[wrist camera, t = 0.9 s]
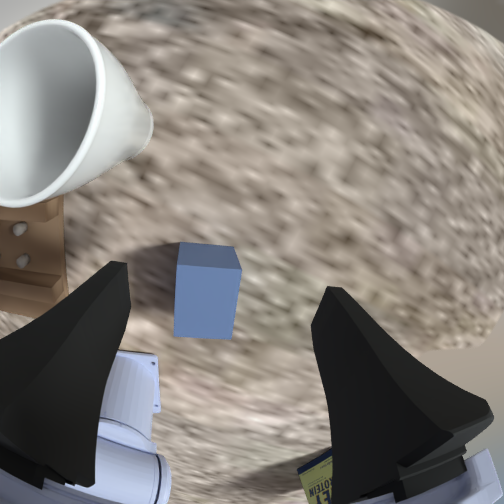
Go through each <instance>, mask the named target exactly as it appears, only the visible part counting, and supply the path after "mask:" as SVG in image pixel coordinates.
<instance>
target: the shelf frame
mask: <svg viewBox="0 0 504 504" xmlns="http://www.w3.org/2000/svg"><path fill="white" fill-rule="evenodd" d="M63 195H64V194H62V195H60V196H57V197H54V198H51V199H48V200H45V201H42V202H38V203H36V204H33V205H30V206H26V207H20V208H9V207H4V206H0V310H1V311H5V312H9V313H14V314H18V315H23V316H27V317H32V318H38V317H40V316H41V315H43V314H44V313H45V312H47V311H48V310H50V309H51V308H52V307H54V306H55V305H56V304H58V303H59V302H60V301H62V300H63V299H64V298H65V297H67V296H68V295H69V292H68V283H67V274H66V262H65V248H64V223H63Z"/></svg>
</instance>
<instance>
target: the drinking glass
mask: <svg viewBox="0 0 504 504" xmlns="http://www.w3.org/2000/svg"><path fill="white" fill-rule="evenodd" d="M153 127H154V122H153V116H152V113H151V111H150V109H149V107H148V106H147V105H146V103H145V102H144V101H143V100H142V98H141V96H140V95H139V93H138V91H137V89H136V87H135V85H134V83H133V82H132V80H131V78H130V76H129V75H128V73H127V71H126V70H125V68H124V67H123V66H122V64H121V63H120V62H119V61H118V59H117V58H116V57H115V56H114V55H113V54H112V53H111V52H110V51H109V50H108V49H107V48H106V47H105V46H104V45H103V44H102V43H101V42H100V41H98V40H97V39H96V38H95V37H93V36H92V35H91V34H89V33H88V32H87V31H86V30H85V29H83V28H82V27H81V26H79V25H77V24H75V23H73V22H69V21H66V20H60V19H50V20H43V21H38V22H35V23H32V24H29V25H27V26H25V27H23V28H21V29H19V30H17V31H16V32H14V33H13V34H11V35H10V36H9V37H7V38H6V39H5V40H3V41H2V42H1V43H0V206H4V207H9V208H20V207H26V206H30V205H33V204H36V203H38V202H42V201H45V200H48V199H51V198H54V197H57V196H60V195H62V194H65V193H67V192H70V191H72V190H75V189H77V188H79V187H81V186H83V185H85V184H87V183H89V182H91V181H93V180H94V179H96V178H98V177H99V176H101V175H102V174H104V173H106V172H107V171H109V170H110V169H112V168H113V167H115V166H117V165H118V164H120V163H122V162H124V161H127V160H130V159H132V158H134V157H135V156H137V155H138V154H140V153H141V152H142V151H143V150H144V149H145V147H146V146H147V145H148V143H149V141H150V139H151V136H152V133H153Z"/></svg>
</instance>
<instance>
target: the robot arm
mask: <svg viewBox="0 0 504 504" xmlns="http://www.w3.org/2000/svg"><path fill="white" fill-rule="evenodd" d="M130 309H131V301H130V292H129V282H128V271H127V263H124V262H117V261H110V262H109V263H108V264H106V265H105V266H104V267H102V268H101V269H100V270H99V271H98V272H96V273H95V274H94V275H93V276H92V277H90V278H89V279H88V280H87V281H85V282H84V283H83V284H82V285H81V286H79V287H78V288H77V289H76V290H75V291H73V292H72V293H71V294H69V295H68V296H67V297H65V298H64V299H63V300H62V301H60V302H59V303H58V304H56V305H55V306H54V307H52V308H51V309H50V310H48V311H47V312H45V313H44V314H43V315H41V316H40V317H38V318H36V319H35V320H33V321H32V322H30V323H29V324H27V325H25V326H24V327H22V328H20V329H18V330H16V331H15V332H13V333H11V334H9V335H8V336H6V337H4V338H2V339H0V504H167V502H168V499H169V495H170V490H171V470H170V466H169V464H168V463H167V461H166V459H165V457H164V456H163V455H160V454H156V445H157V444H156V443H154V442H151V430H152V416H153V413H160V412H161V405H160V390H159V373H158V357H157V356H156V355H154V354H145V353H135V352H127V351H119V350H118V348H119V346H120V343H121V340H122V338H123V335H124V332H125V329H126V325H127V321H128V317H129V313H130ZM311 332H312V341H313V348H314V352H315V356H316V360H317V364H318V368H319V372H320V376H321V380H322V384H323V387H324V391H325V395H326V400H327V405H328V411H329V420H330V429H331V442H332V491H331V503H332V504H493V503H494V502H495V501H497V500H498V499H499V498H500V497H501V496H502V495H503V492H502V489H501V485H500V482H499V479H498V476H497V473H496V470H495V467H494V464H493V461H492V459H491V456H490V453H489V451H488V449H487V448H485V449H484V450H482V451H480V452H478V453H476V454H475V455H473V456H471V457H470V458H467V459H466V460H464V459H463V456H462V455H464V454H465V453H466V451H467V450H466V448H465V444H466V443H468V442H469V441H470V440H472V439H473V438H475V437H476V436H477V435H478V434H480V433H481V432H482V431H483V430H485V429H486V428H487V427H488V426H489V425H490V424H491V423H492V422H493V420H494V415H493V413H492V411H491V409H490V407H489V405H488V403H487V401H486V400H485V399H483V398H481V397H478V396H476V395H474V394H472V393H470V392H467V391H465V390H463V389H461V388H459V387H458V386H456V385H454V384H452V383H451V382H449V381H447V380H446V379H444V378H442V377H441V376H439V375H438V374H436V373H435V372H433V371H432V370H430V369H429V368H428V367H426V366H425V365H423V364H422V363H421V362H419V361H418V360H417V359H416V358H414V357H413V356H412V355H411V354H410V353H408V352H407V351H406V350H405V349H404V348H402V347H401V346H400V345H399V344H398V343H397V342H396V341H395V340H394V339H393V338H392V337H391V336H390V335H388V334H387V333H386V332H385V331H384V330H383V329H382V328H381V327H380V326H379V325H378V324H377V323H376V322H375V321H374V320H373V318H372V317H371V316H370V315H369V314H368V313H367V312H366V311H365V310H364V309H363V308H362V307H361V306H360V305H359V304H358V303H357V302H356V301H355V300H354V299H353V298H352V297H351V296H350V295H349V294H348V293H347V292H346V291H345V290H344V289H343V288H341V287H330V286H327V288H326V290H325V293H324V295H323V298H322V300H321V302H320V305H319V307H318V310H317V312H316V314H315V317H314V319H313V321H312V324H311ZM152 362H155V363H152ZM155 404H156V405H155Z"/></svg>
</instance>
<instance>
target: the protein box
mask: <svg viewBox="0 0 504 504" xmlns="http://www.w3.org/2000/svg"><path fill="white" fill-rule="evenodd" d="M297 471H298V474H299V477H300V480H301V483H302V486H303V488H304V491H305V494H306V497H307V500H308V502H309V504H332V503H331V491H332V449H331V450H329V451H327V452H326V453H324V454H323V455H321V456H319V457H318V458H316V459H314V460H313V461H311V462H309V463H307V464H306V465H304V466H302V467H300V468H298V469H297Z"/></svg>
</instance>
